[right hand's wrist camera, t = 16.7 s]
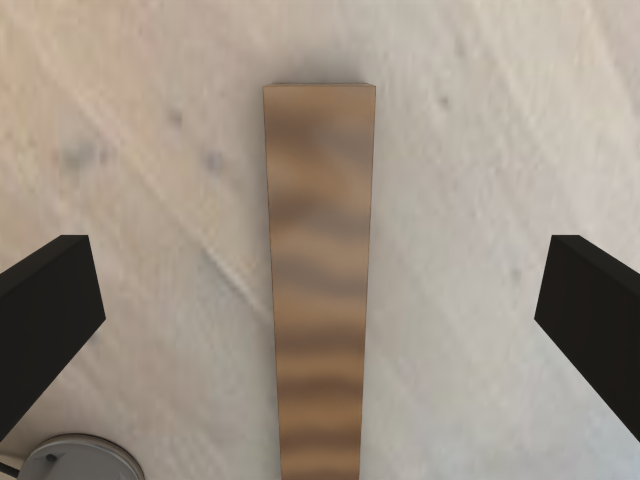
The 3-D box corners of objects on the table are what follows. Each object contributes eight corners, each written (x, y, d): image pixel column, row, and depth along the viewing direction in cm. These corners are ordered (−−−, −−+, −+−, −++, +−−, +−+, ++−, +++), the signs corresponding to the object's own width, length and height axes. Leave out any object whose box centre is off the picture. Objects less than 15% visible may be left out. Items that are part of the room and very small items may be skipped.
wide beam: (271, 83, 39) (262, 86, 33) (367, 83, 39) (376, 85, 33) (292, 581, 65) (289, 635, 59) (349, 581, 65) (352, 635, 59)
